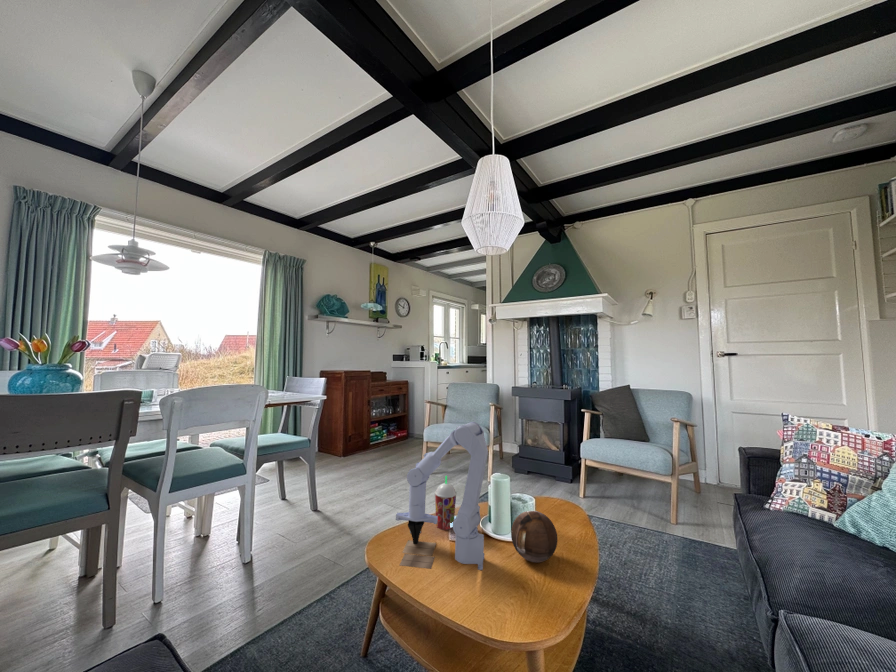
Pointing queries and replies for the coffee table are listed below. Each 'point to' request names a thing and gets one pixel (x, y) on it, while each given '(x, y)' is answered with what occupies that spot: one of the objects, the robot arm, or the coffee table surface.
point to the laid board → (417, 561)
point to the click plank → (419, 548)
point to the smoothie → (445, 505)
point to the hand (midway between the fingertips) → (415, 542)
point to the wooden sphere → (534, 536)
